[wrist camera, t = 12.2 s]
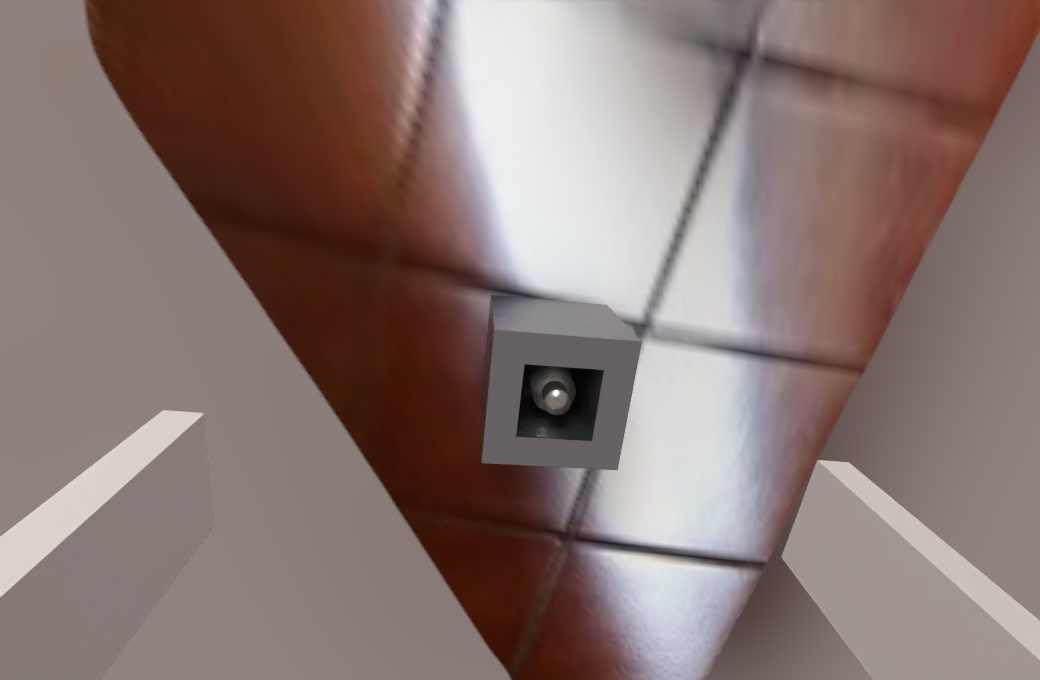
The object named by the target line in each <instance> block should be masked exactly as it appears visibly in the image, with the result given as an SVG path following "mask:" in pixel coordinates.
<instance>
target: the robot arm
mask: <svg viewBox="0 0 1040 680" xmlns="http://www.w3.org/2000/svg"><path fill="white" fill-rule="evenodd" d="M204 416H205V415H204V413H191V412H179V411H178V412H177V411H164V410H163V411H162V412H161V413H159V414H158V415H157V416H155V417H154V418H153V419H152V420H150V421H149V422H148V423H146V424H145V425H144V426H143V427H141V428H140V429H139V430H137V431H136V432H135V433H134V434H132V435H131V436H130V437H128V438H127V439H126V440H125V441H123V442H122V443H121V444H120V445H118V446H117V447H116V448H114V449H113V450H112V451H110V452H109V453H108V454H106V455H105V456H104V457H103V458H101V459H100V460H99V461H97V462H96V463H95V464H94V465H92V466H91V467H90V468H88V469H87V470H86V471H85V472H83V473H82V474H81V475H79V476H78V477H77V478H76V479H74V480H73V481H72V482H70V483H69V484H68V485H67V486H65V487H64V488H63V489H62V490H60V491H59V492H58V493H57V494H55V495H54V496H52V497H51V498H50V499H49V500H47V501H46V502H45V503H44V504H42V505H41V506H40V507H38V508H37V509H36V510H34V511H33V512H32V513H31V514H29V515H28V516H27V517H25V518H24V519H23V520H21V521H20V522H19V523H18V524H17V525H15V526H14V527H12V528H11V529H10V530H9V531H7V532H6V533H5V534H3V535H2V536H1V537H0V680H102V678H103V677H104V676H105V674H106V673H107V671H108V670H109V669H110V668H111V666H112V665H113V663H114V662H115V660H116V659H117V658H118V657H119V655H120V654H121V653H122V651H123V650H124V648H125V647H126V646H127V644H128V643H129V642H130V640H131V639H132V638H133V636H134V635H135V634H136V632H137V631H138V630H139V628H140V627H141V626H142V624H143V623H144V621H145V620H146V619H147V617H148V616H149V614H150V613H151V612H152V611H153V609H154V608H155V607H156V605H157V604H158V602H159V601H160V599H161V598H162V597H163V596H164V594H165V593H166V592H167V590H168V589H169V588H170V586H171V585H172V584H173V582H174V581H175V580H176V578H177V577H178V575H179V574H180V573H181V571H182V570H183V569H184V567H185V566H186V565H187V563H188V562H189V561H190V559H191V558H192V557H193V555H194V553H195V552H196V551H197V550H198V548H199V547H200V546H201V544H202V543H203V541H204V540H205V539H206V538H207V536H208V535H209V533H210V532H211V531H212V529H213V528H214V515H213V504H212V494H211V482H210V470H209V459H208V448H207V438H206V426H205V417H204ZM782 558H783V560H784V561H785V563H786V564H787V565H788V567H789V568H790V569H791V571H792V572H793V573H794V575H795V576H796V577H797V579H798V580H799V581H800V583H801V584H802V585H803V587H804V588H805V589H806V591H807V592H808V593H809V595H810V596H811V597H812V599H813V600H814V601H815V603H816V604H817V605H818V607H819V608H820V609H821V611H822V612H823V613H824V615H825V616H826V617H827V619H828V620H829V621H830V623H831V624H832V625H833V627H834V628H835V629H836V631H837V632H838V633H839V635H840V636H841V637H842V639H843V640H844V641H845V643H846V644H847V645H848V647H849V648H850V649H851V651H852V652H853V653H854V655H855V656H856V657H857V659H858V660H859V662H860V663H861V664H862V665H863V667H864V668H865V670H866V671H867V672H868V673H869V675H870V676H871V678H872V679H873V680H1040V621H1039V620H1038V619H1037V618H1035V617H1034V616H1033V615H1032V614H1031V613H1030V612H1028V611H1027V610H1026V609H1025V608H1024V607H1022V606H1021V605H1020V604H1019V603H1018V602H1016V601H1015V600H1014V599H1013V598H1011V597H1010V596H1009V595H1008V594H1006V592H1004V591H1003V590H1002V589H1001V588H999V587H998V586H997V585H996V584H995V583H993V582H992V581H991V580H990V579H989V578H987V577H986V576H985V575H984V574H982V573H981V572H980V571H979V570H978V569H977V568H975V567H974V566H973V565H972V564H971V563H969V562H968V561H967V560H966V559H964V558H963V557H962V556H961V555H960V554H958V553H957V552H956V551H955V550H954V549H952V548H951V547H950V546H949V545H948V544H946V543H945V542H944V541H943V540H942V539H940V538H939V537H938V536H936V534H934V533H933V532H932V531H931V530H929V529H928V528H927V527H926V526H925V525H923V524H922V523H921V522H920V521H919V520H917V519H916V518H915V517H914V516H913V515H911V514H910V513H909V512H908V511H906V510H905V509H904V508H903V507H902V506H901V505H899V504H898V503H897V502H896V501H894V500H893V499H892V498H891V497H890V496H888V495H887V494H886V493H885V492H884V491H882V490H881V489H880V488H879V487H877V486H876V485H875V484H874V483H873V482H872V481H870V480H869V479H868V478H867V477H866V476H864V475H863V474H862V473H861V472H859V471H858V470H857V469H856V468H855V467H854V466H852V465H851V464H850V463H849V462H836V461H823V460H817V463H816V465H815V468H814V471H813V473H812V476H811V479H810V481H809V484H808V487H807V490H806V492H805V495H804V498H803V500H802V503H801V506H800V509H799V511H798V514H797V517H796V520H795V522H794V525H793V528H792V530H791V533H790V536H789V538H788V541H787V544H786V547H785V550H784V552H783V555H782Z"/></svg>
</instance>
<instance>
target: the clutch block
mask: <svg viewBox="0 0 1040 680" xmlns="http://www.w3.org/2000/svg"><path fill="white" fill-rule="evenodd" d="M641 343H642V341H641V340H640V339H639V338H638V337H637V336H636V335H635V334H634V333H633V332H632V331H631V330H630V329H629V328H628V327H627V326H626V325H625V324H624V323H623V322H622V321H621V320H620V319H619V317H618V316H617V315H616V314H615V313H614V312H613V311H612V310H611V309H610V308H609V307H608V306H607V305H600V304H588V303H577V302H565V301H554V300H542V299H531V298H519V297H508V296H496V295H491V300H490V311H489V322H488V334H487V345H486V356H485V367H484V378H483V389H482V400H481V453H482V463H491V464H510V465H530V466H549V467H568V468H588V469H607V470H618V464H619V459H620V454H621V448H622V443H623V438H624V433H625V427H626V422H627V417H628V411H629V406H630V401H631V395H632V390H633V385H634V380H635V374H636V369H637V364H638V358H639V353H640V348H641ZM524 364H529V365H542V366H556V367H570V368H571V374H570V376H571V378H572V380H573V382H574V385H575V389H576V393H575V397H574V400H573V401H572V403H571V405H570V408H569V409H568V410H567V411H566V412H565V413H563V414H561V415H553V414H551V413H549V412H548V411H545V410H542V409H541V408H539V407H538V406H537V405H536V403H535V402H534V400H533V396H532V392H531V388H530V384H529V383H522V381H523V372H524Z"/></svg>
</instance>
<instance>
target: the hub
mask: <svg viewBox="0 0 1040 680" xmlns="http://www.w3.org/2000/svg"><path fill="white" fill-rule="evenodd" d="M570 374H571V368H570V367H556V366H542V365H529V364H524V372H523V381H522V383H529V384H530V388H531V392H532V396H533V400H534V402H535V403H536V405H537V406H538V407H539V408H541V409H542V410H545V411H548V412H549V413H551V414H553V415H561V414H563V413H565V412H566V411H567V410H568V409H569V408H570V405H571V403H572V401H573V400H574V397H575V393H576V389H575V385H574V382H573V380H572V378H571V376H570Z"/></svg>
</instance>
